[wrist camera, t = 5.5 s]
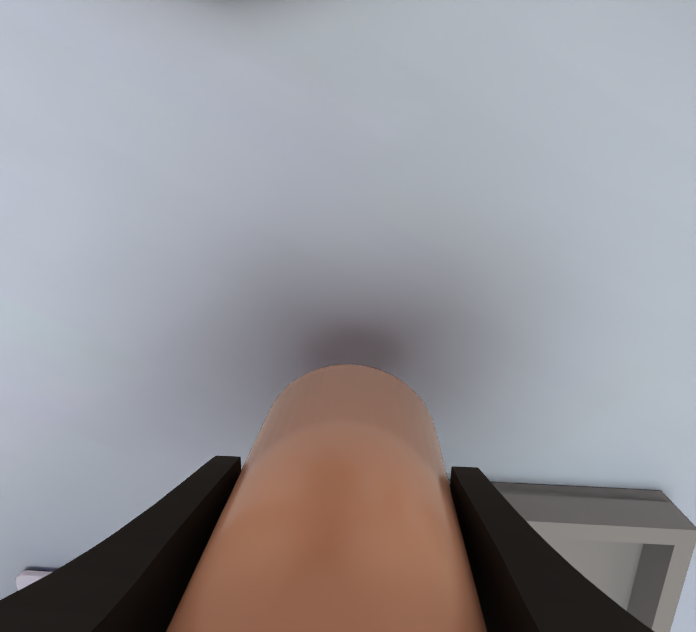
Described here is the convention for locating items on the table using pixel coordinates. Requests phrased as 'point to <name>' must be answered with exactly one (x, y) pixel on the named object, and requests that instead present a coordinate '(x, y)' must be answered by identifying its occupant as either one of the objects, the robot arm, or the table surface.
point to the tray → (615, 541)
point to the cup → (337, 520)
